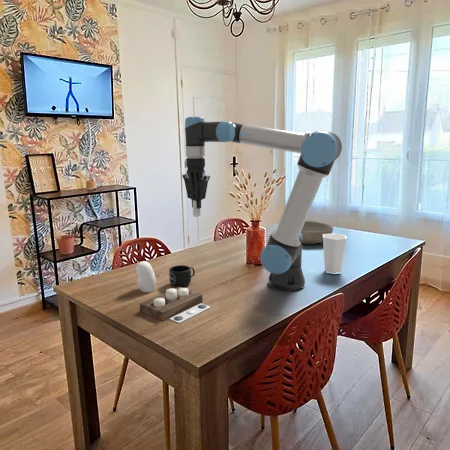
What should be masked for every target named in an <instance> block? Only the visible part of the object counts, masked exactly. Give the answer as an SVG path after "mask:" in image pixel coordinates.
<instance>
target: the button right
mask: <svg viewBox="0 0 450 450" xmlns="http://www.w3.org/2000/svg"><path fill="white" fill-rule="evenodd" d="M189 290H190V289H189V288H187V287H182V288H180V289H178V295H179V296H181V297H185V296H187V295H189Z"/></svg>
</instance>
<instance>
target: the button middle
mask: <svg viewBox="0 0 450 450" xmlns="http://www.w3.org/2000/svg"><path fill="white" fill-rule="evenodd" d="M165 293H166V301H169V302H174V301H176V300H177V289H176V288H173V287H172V288H166V290H165Z"/></svg>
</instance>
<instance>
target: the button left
mask: <svg viewBox="0 0 450 450" xmlns="http://www.w3.org/2000/svg"><path fill="white" fill-rule="evenodd" d="M154 306H155V307H157V308H160V307H162V306H165V299H164V298H156V299H154Z"/></svg>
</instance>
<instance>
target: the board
mask: <svg viewBox="0 0 450 450" xmlns="http://www.w3.org/2000/svg"><path fill="white" fill-rule="evenodd" d="M180 288H183V287H176V288H175V289H177V300H176V301H174V302H169V301H166V292H163V293H162V294H159V295H157V296H154V297H152V298H149V299H147V300H144V301H142V302H140V303H139V312H142V313H143V314H145V315H149V316H151V317H153V318H155V319H158V320H160V321H165V320H168V319H169V318H171V317H174V316H176V315H178V314H180V313H182V312H184V311H186V310H188V309H190V308H192V307H194V306H196V305H198V304H200V303H201V304H202V303H203V293H200V292H197V291H193V290H191V289H189V295H187V296H185V297H181V296H179V295H178V289H180ZM156 298H164V299H165V306H162V307H160V308H157V307H155V306H154V299H156Z"/></svg>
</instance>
